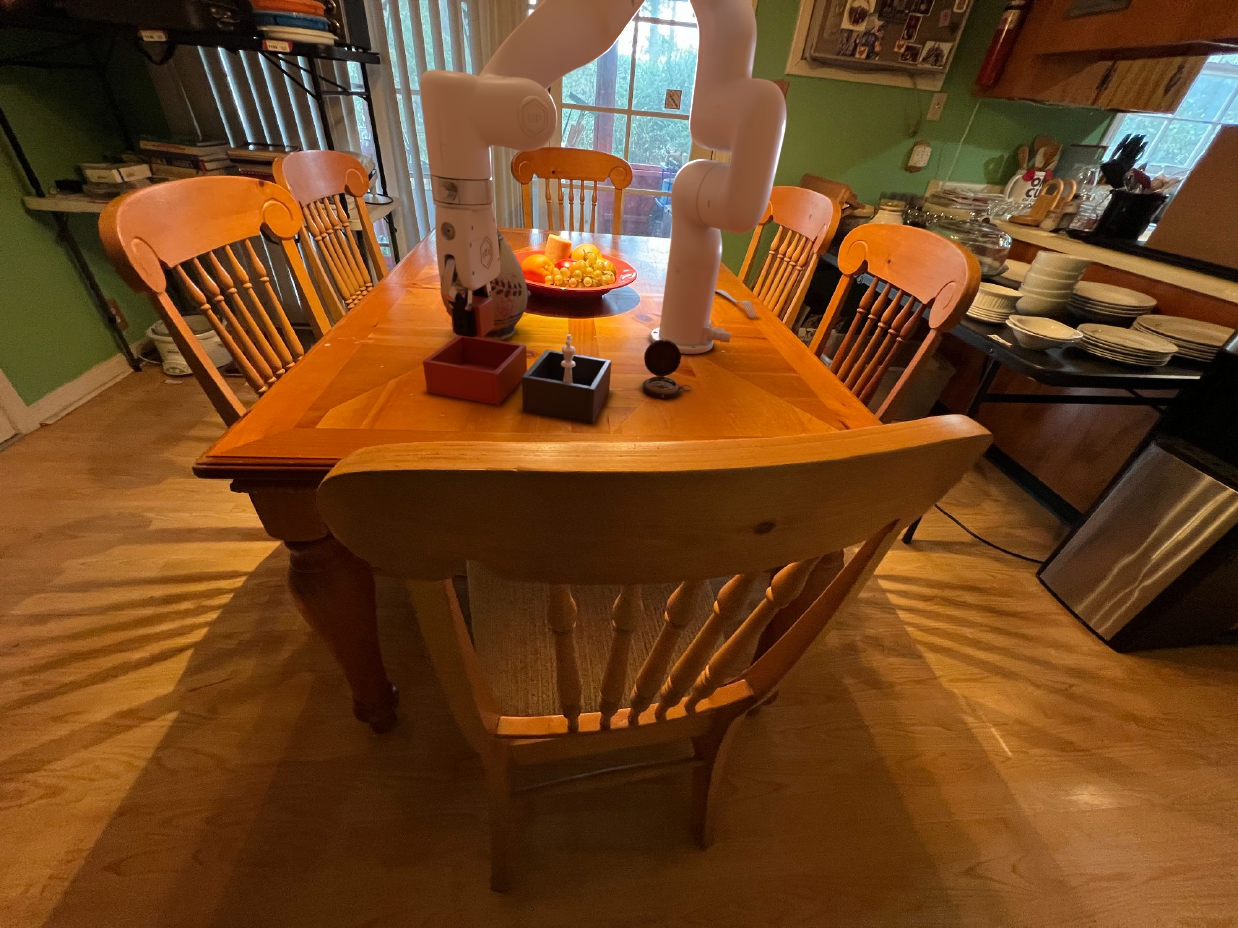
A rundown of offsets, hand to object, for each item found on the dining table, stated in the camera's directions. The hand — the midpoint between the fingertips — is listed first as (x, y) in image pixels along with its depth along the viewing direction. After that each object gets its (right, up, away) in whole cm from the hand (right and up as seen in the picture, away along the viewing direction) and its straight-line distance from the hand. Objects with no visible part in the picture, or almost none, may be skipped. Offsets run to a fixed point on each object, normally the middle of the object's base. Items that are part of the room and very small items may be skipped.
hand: (473, 328), depth 75 cm
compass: (+30, -8, +9) cm, 32 cm away
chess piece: (+14, -10, +2) cm, 17 cm away
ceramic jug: (-3, +4, +22) cm, 22 cm away
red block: (0, 0, 0) cm, 0 cm away
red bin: (-1, -7, +5) cm, 9 cm away
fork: (+50, +20, +51) cm, 74 cm away
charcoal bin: (+14, -11, +2) cm, 18 cm away
